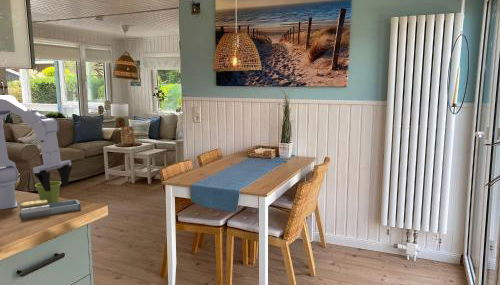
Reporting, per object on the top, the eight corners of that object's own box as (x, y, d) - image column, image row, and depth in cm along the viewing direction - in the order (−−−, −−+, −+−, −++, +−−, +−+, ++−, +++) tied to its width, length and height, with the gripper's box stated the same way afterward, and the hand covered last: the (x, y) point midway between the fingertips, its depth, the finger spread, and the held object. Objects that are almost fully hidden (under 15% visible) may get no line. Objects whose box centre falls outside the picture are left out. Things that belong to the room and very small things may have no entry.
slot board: (20, 212, 147) (19, 203, 146) (47, 208, 152) (46, 199, 151) (22, 219, 140) (21, 210, 139) (50, 214, 145) (49, 205, 144)
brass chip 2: (35, 207, 147) (34, 200, 147) (46, 205, 149) (46, 199, 149) (36, 210, 144) (35, 203, 144) (48, 208, 146) (47, 201, 146)
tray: (47, 209, 151) (47, 203, 151) (77, 204, 157) (76, 199, 157) (50, 214, 145) (49, 208, 145) (80, 209, 151) (80, 203, 151)
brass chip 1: (22, 209, 145) (21, 202, 145) (34, 207, 147) (33, 200, 147) (23, 212, 142) (22, 205, 141) (35, 210, 144) (35, 203, 143)
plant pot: (31, 206, 155) (29, 185, 154) (52, 200, 163) (51, 179, 162) (46, 209, 151) (44, 188, 149) (67, 203, 159) (66, 182, 158)
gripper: (40, 154, 132) (47, 193, 134) (74, 148, 145) (80, 183, 147) (26, 155, 135) (33, 193, 136) (61, 149, 148) (67, 184, 150)
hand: (56, 188), depth 142 cm, fingers open, 7 cm apart
